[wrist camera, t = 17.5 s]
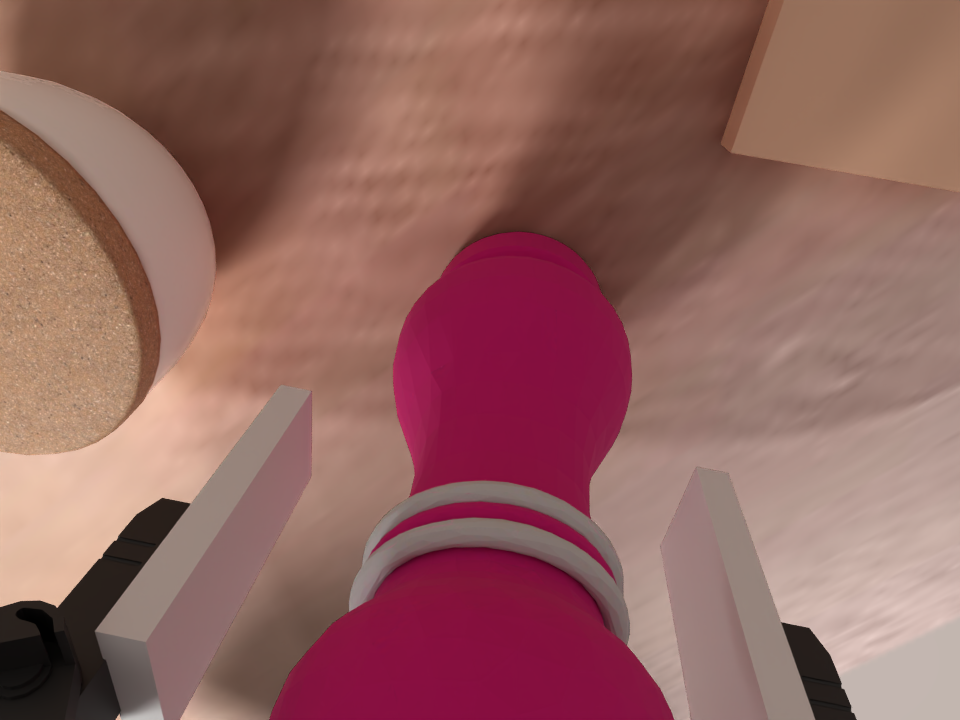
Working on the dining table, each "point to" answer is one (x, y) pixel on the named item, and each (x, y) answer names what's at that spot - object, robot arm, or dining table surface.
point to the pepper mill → (493, 512)
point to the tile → (855, 89)
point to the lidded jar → (90, 266)
